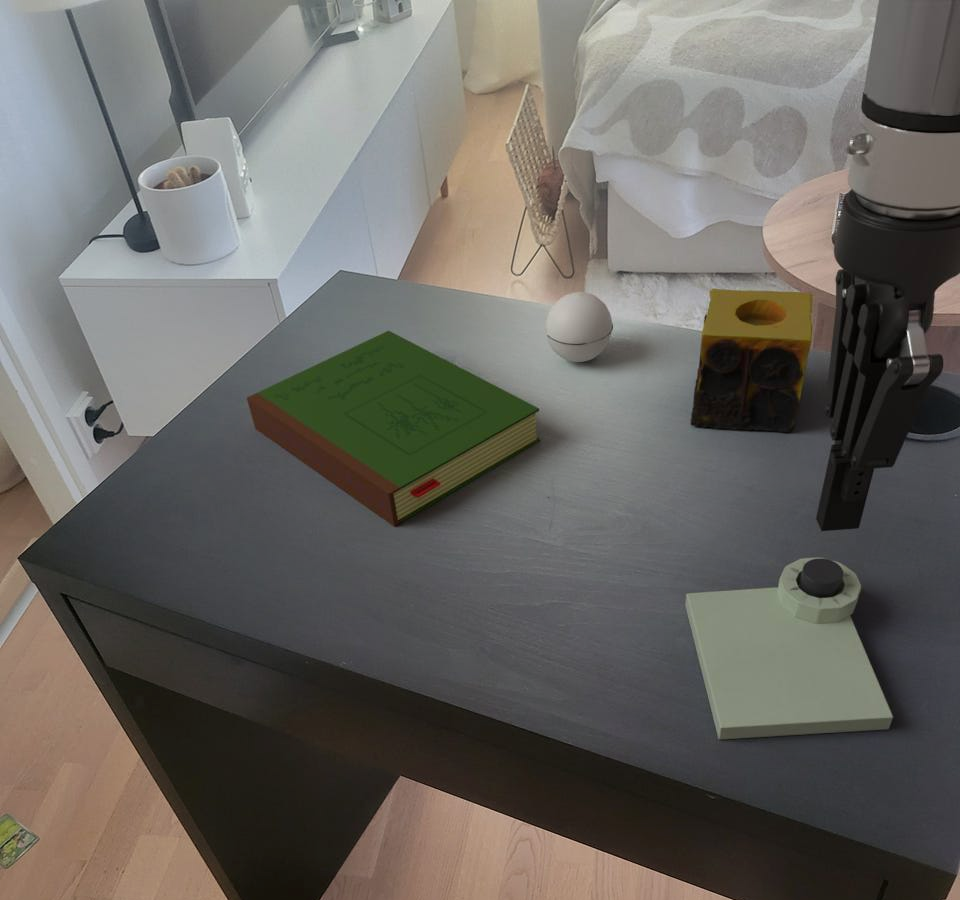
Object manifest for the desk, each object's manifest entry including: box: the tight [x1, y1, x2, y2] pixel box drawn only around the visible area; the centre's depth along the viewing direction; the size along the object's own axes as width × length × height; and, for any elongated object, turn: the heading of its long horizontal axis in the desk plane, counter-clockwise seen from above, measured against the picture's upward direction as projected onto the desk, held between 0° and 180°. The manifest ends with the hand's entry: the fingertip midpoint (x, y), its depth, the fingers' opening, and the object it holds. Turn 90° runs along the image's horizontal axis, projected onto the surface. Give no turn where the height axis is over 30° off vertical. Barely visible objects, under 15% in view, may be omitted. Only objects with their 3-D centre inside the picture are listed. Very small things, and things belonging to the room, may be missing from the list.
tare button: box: [799, 557, 843, 598], centre depth 74 cm, size 3×3×2 cm
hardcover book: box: [246, 330, 541, 527], centre depth 97 cm, size 25×19×4 cm
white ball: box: [544, 291, 632, 363], centre depth 103 cm, size 10×7×7 cm
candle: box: [690, 288, 814, 433], centre depth 94 cm, size 10×10×10 cm
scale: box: [684, 557, 894, 740], centre depth 72 cm, size 13×15×3 cm
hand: (837, 523), depth 70 cm, fingers closed
